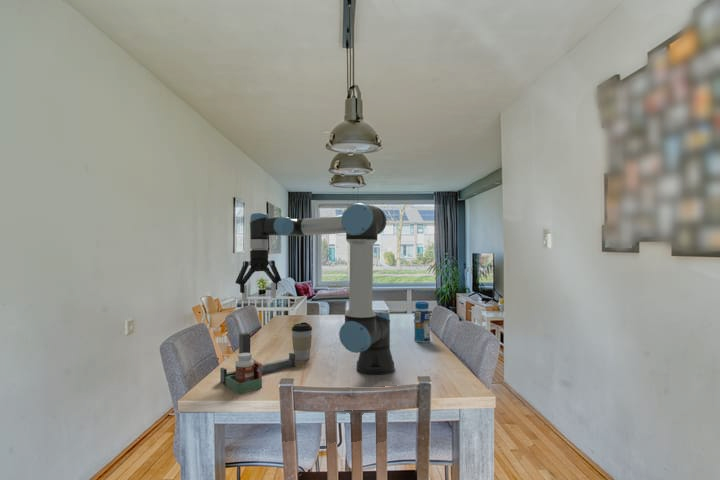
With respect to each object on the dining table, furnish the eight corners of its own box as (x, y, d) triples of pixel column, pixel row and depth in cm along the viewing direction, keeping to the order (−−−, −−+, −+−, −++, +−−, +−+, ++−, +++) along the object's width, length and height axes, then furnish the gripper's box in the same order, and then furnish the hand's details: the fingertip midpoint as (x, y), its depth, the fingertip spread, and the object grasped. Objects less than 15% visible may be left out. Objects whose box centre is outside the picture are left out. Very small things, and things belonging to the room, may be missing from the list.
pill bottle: (246, 390, 132) (246, 357, 133) (231, 387, 135) (231, 355, 135) (257, 384, 138) (257, 352, 138) (243, 382, 140) (243, 351, 141)
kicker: (267, 382, 139) (267, 337, 139) (252, 386, 135) (252, 340, 135) (250, 373, 149) (250, 332, 149) (235, 376, 145) (235, 334, 145)
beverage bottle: (412, 339, 205) (412, 301, 205) (427, 338, 206) (427, 301, 206) (416, 343, 196) (416, 303, 197) (432, 342, 197) (432, 303, 198)
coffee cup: (308, 361, 166) (308, 326, 166) (288, 360, 168) (288, 325, 168) (314, 355, 175) (314, 322, 175) (295, 354, 176) (295, 321, 177)
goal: (261, 387, 135) (261, 378, 135) (238, 393, 129) (238, 384, 129) (247, 379, 143) (247, 371, 143) (224, 385, 137) (225, 376, 137)
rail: (295, 366, 159) (295, 354, 159) (223, 384, 139) (223, 369, 139) (291, 364, 161) (291, 352, 161) (220, 381, 141) (220, 368, 141)
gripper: (280, 249, 177) (280, 295, 177) (227, 249, 160) (227, 301, 160) (289, 249, 171) (289, 297, 171) (235, 249, 155) (235, 303, 154)
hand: (259, 299), depth 165 cm, fingers open, 13 cm apart
